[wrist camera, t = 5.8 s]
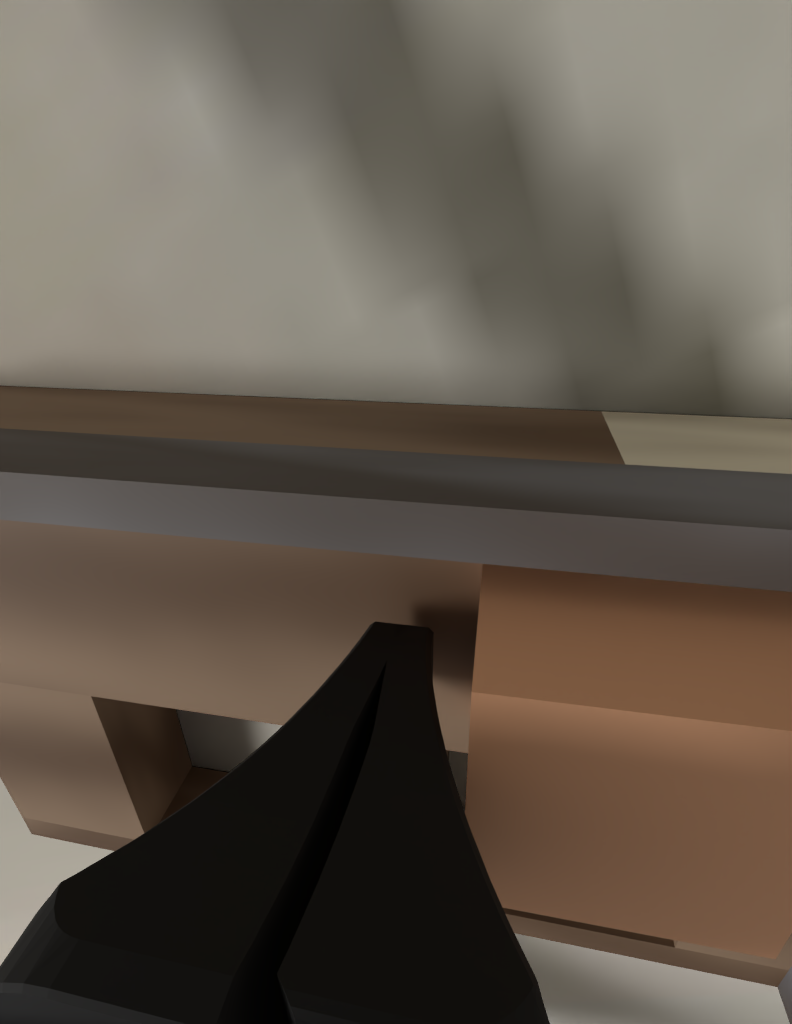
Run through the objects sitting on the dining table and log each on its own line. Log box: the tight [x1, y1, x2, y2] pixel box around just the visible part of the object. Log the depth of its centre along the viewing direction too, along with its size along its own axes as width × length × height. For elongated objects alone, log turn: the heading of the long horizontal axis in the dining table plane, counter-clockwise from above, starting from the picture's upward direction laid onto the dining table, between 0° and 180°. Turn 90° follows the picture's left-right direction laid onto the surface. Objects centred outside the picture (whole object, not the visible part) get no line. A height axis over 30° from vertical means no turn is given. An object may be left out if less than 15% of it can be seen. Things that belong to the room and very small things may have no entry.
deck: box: [0, 386, 792, 1024], centre depth 14 cm, size 16×26×5 cm, turn 91°
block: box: [465, 564, 792, 959], centre depth 10 cm, size 5×5×4 cm
